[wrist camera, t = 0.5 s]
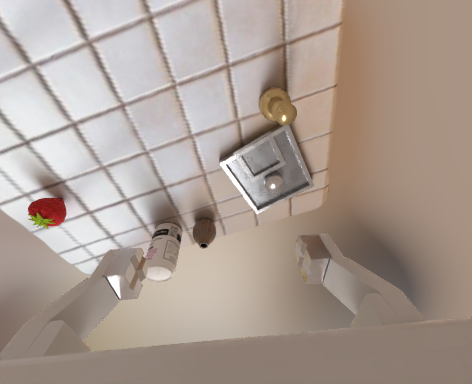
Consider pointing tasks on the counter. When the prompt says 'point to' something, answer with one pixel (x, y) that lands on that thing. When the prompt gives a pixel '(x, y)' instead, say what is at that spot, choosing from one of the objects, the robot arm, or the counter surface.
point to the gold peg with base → (277, 106)
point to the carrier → (268, 169)
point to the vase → (204, 232)
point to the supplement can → (163, 252)
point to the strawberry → (47, 211)
